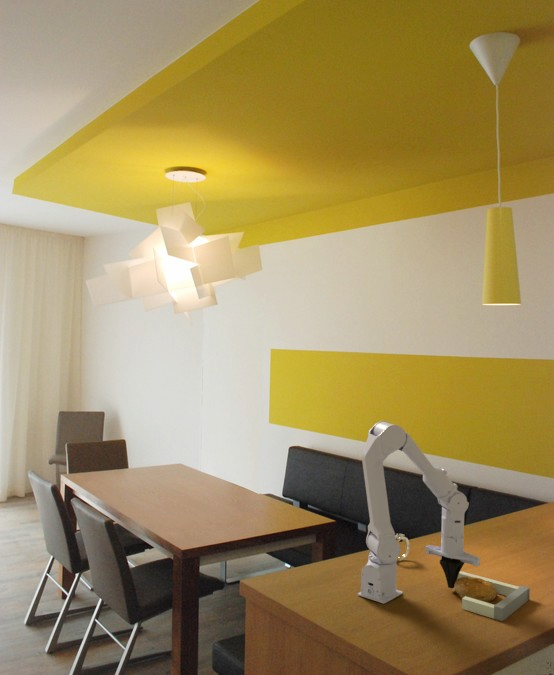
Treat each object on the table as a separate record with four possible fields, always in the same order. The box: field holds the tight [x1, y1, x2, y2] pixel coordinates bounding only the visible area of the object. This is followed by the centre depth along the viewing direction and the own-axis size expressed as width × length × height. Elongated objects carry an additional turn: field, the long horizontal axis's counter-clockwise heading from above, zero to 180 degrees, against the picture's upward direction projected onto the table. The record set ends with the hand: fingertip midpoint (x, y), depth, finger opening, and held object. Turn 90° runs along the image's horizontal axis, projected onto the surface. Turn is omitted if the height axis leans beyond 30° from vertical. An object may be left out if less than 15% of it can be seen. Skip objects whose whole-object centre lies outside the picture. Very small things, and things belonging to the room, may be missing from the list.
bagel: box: [453, 577, 498, 603], centre depth 159 cm, size 10×11×5 cm
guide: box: [457, 570, 531, 622], centre depth 158 cm, size 18×21×3 cm
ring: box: [395, 533, 411, 562], centre depth 185 cm, size 7×3×8 cm, turn 116°
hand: (451, 586), depth 162 cm, fingers closed
